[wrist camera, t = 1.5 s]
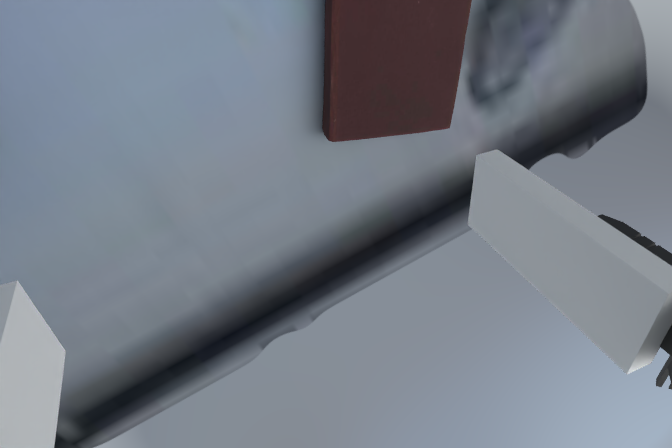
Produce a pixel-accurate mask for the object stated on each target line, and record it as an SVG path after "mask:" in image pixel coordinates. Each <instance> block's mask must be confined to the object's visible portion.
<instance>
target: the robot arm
mask: <svg viewBox="0 0 672 448" xmlns="http://www.w3.org/2000/svg"><path fill="white" fill-rule="evenodd" d="M468 225H469V226H470V227H471V228H472V229H473V230H474V231H475V232H476V233H477V234H478V235H480V237H482V238H483V239H484V240H485V241H486V242H487V243H488V244H489V245H490V246H491V247H492V248H493V249H494V250H495V251H496V252H497V253H499V254H500V255H501V256H502V257H503V258H504V259H505V260H506V261H507V262H508V263H509V264H510V265H511V266H512V267H514V268H515V269H516V270H517V271H518V272H519V273H520V274H521V275H522V276H523V277H524V278H525V279H526V280H527V281H528V282H529V283H530V284H532V285H533V286H534V287H535V288H536V289H537V290H538V291H539V292H540V293H541V294H542V295H543V296H544V297H546V299H547V300H548V301H550V302H551V303H552V304H553V305H554V306H555V307H556V308H557V309H558V310H559V311H560V312H561V313H562V314H563V315H564V316H565V317H567V318H568V319H569V320H570V321H571V322H572V323H573V324H574V325H575V326H576V327H577V328H578V329H579V330H580V331H581V332H583V333H584V334H585V335H586V336H587V337H588V338H589V339H590V340H591V341H592V342H593V343H594V344H595V345H596V346H597V347H598V348H599V349H601V350H602V351H603V352H604V353H605V354H606V355H607V356H608V357H609V358H610V359H611V360H612V361H613V362H614V363H615V364H617V365H618V366H619V367H620V368H621V369H622V370H623V371H624V372H625V373H626V374H628V373H631V372H633V371H635V370H637V369H639V368H642V367H644V366H646V365H648V364H650V363H651V362H652V361H653V359H654V357H655V355H656V353H657V352H658V350H659V348H660V347H661V348H662V349H664V350H665V351H666V352H667V353H668V354H670V357H669V358H668V360H667V362H666V363H665V365H664V367H663V368H662V370H661V372H660V373H659V375H658V377H657V379H656V386H659V387H662V385H663V383H664V382H665V380H666V379H667V377H668V375H669V376H670V380H671V384H670V386H669V389H672V254H671V253H670V252H668V251H667V250H665V249H664V248H662V247H661V246H659V245H658V246H656V245H655V243H654V242H653V241H651V240H650V239H648V238H647V237H645V236H643V237H642V236H641V234H640V233H639V232H637V231H636V230H634V229H633V228H631V227H629V226H628V225H627V224H625V223H623V222H620V221H618V220H616V219H613V218H610V217H608V216H605V215H599V216H596V215H595V214H593V213H592V212H590V211H589V210H587V209H586V208H584V207H583V206H581V205H580V204H578V203H577V202H575V201H573V200H572V199H571V198H569V197H568V196H566V195H565V194H563V193H562V192H560V191H559V190H557V189H556V188H554V187H553V186H551V185H549V184H548V183H547V182H545V181H544V180H542V179H541V178H539V177H538V176H536V175H535V174H533V173H532V172H530V171H529V170H527V169H526V168H524V167H523V166H521V165H520V164H518V163H517V162H515V161H514V160H512V159H511V158H509V157H508V156H506V155H505V154H503V153H502V152H500V151H499V150H493V151H490V152H486V153H482V154H479V155H477V156H476V164H475V172H474V180H473V188H472V195H471V203H470V211H469V219H468ZM65 353H66V351H65V350H64V348H63V347H62V345H61V344H60V342H59V341H58V339H57V338H56V336H55V335H54V333H53V332H52V330H51V329H50V328H49V326H48V325H47V323H46V322H45V320H44V319H43V317H42V316H41V314H40V313H39V311H38V310H37V308H36V307H35V306H34V304H33V303H32V301H31V300H30V298H29V297H28V295H27V294H26V292H25V291H24V289H23V288H22V286H21V285H20V284H19V282H18V281H13V282H10V283H6V284H2V285H0V448H54V444H55V436H56V428H57V419H58V411H59V403H60V394H61V386H62V378H63V369H64V361H65Z"/></svg>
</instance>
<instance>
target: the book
mask: <svg viewBox="0 0 672 448" xmlns="http://www.w3.org/2000/svg"><path fill="white" fill-rule="evenodd" d="M471 1H472V0H326V2H325V59H324V104H323V125H322V129H323V132H324V135H325V136H326V138H327V139H328V140H329V141H332V142H337V141H348V140H359V139H369V138H377V137H386V136H394V135H403V134H412V133H421V132H428V131H433V130H442V129H447V128H450V124H451V119H452V114H453V109H454V104H455V98H456V93H457V86H458V81H459V75H460V69H461V62H462V55H463V49H464V42H465V34H466V30H467V25H468V19H469V13H470V7H471Z"/></svg>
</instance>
